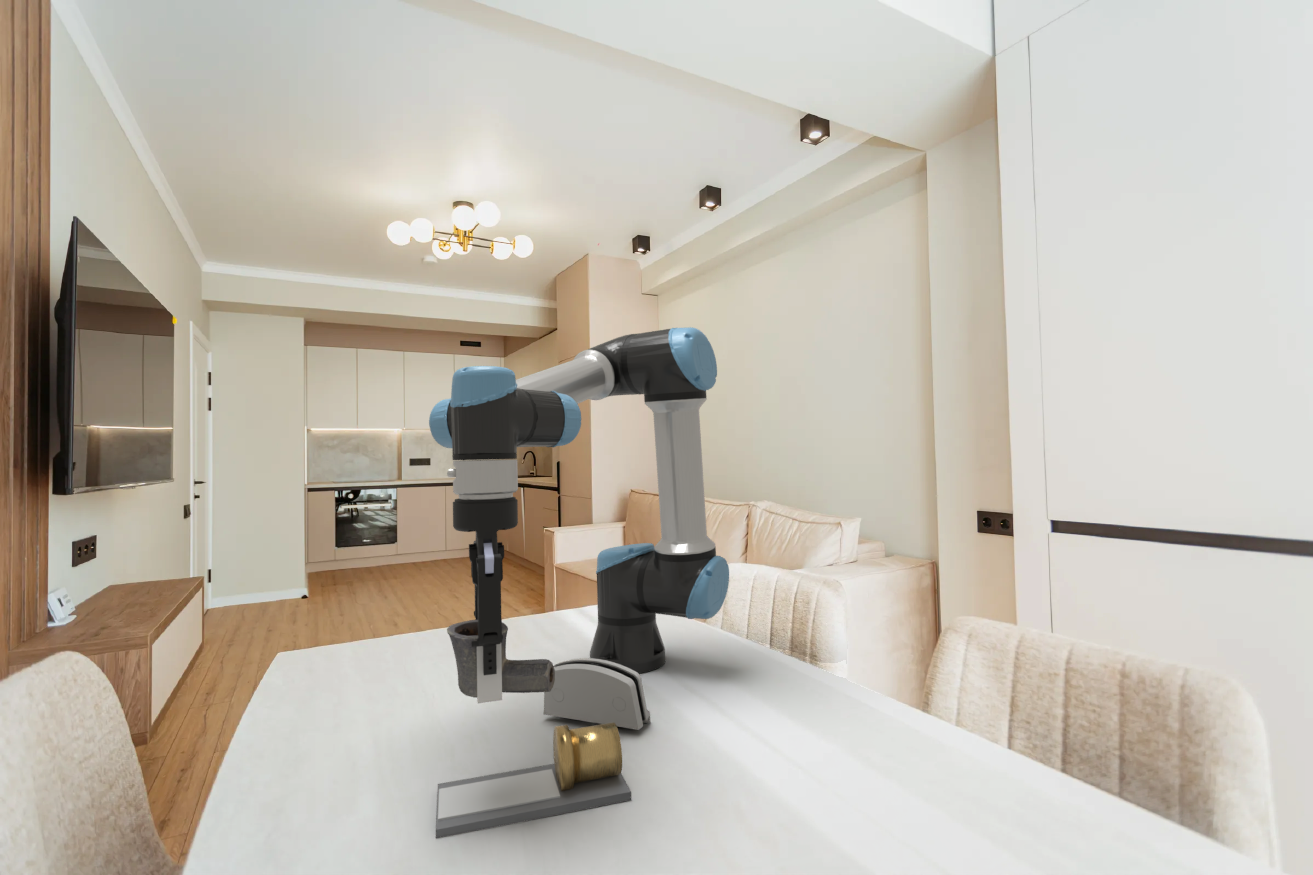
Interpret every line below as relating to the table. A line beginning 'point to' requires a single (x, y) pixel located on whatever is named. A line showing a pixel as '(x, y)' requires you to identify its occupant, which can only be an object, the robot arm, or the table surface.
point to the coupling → (586, 753)
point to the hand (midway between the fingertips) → (488, 689)
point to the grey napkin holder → (597, 693)
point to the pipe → (514, 672)
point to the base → (518, 799)
